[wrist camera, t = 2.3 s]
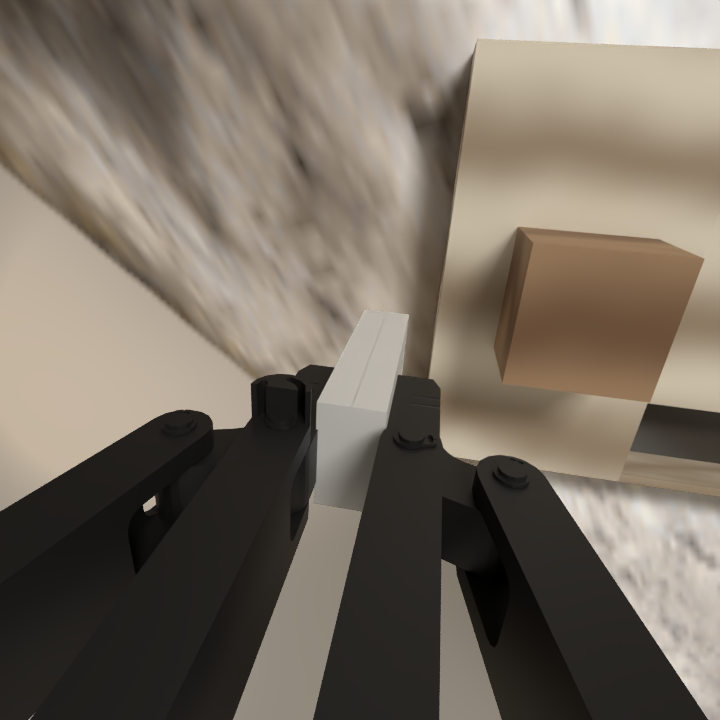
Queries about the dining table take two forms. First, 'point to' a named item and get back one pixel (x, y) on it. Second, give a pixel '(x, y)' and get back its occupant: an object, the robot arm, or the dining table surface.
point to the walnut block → (592, 312)
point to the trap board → (590, 215)
